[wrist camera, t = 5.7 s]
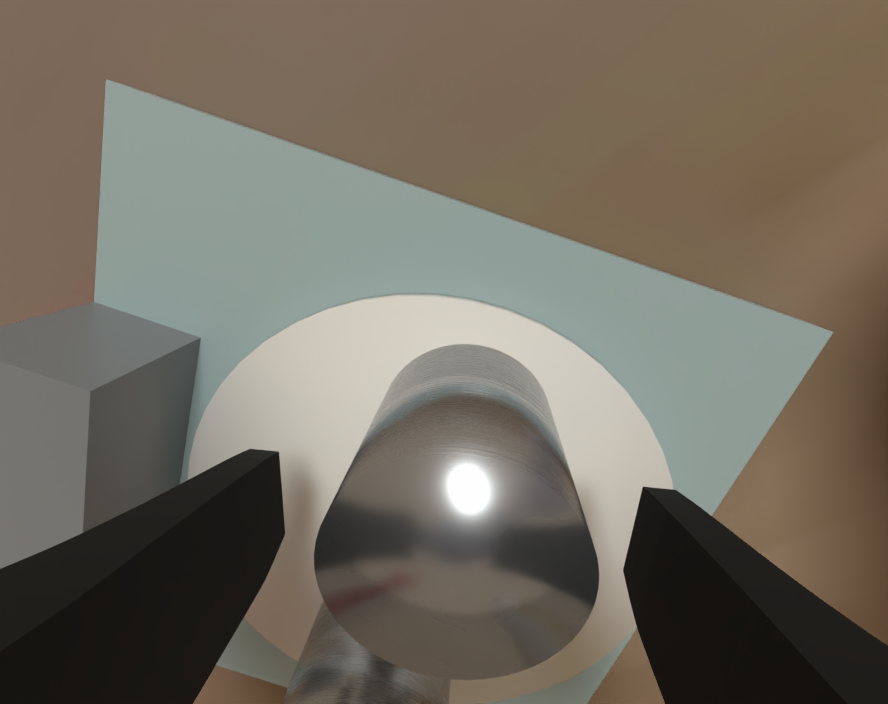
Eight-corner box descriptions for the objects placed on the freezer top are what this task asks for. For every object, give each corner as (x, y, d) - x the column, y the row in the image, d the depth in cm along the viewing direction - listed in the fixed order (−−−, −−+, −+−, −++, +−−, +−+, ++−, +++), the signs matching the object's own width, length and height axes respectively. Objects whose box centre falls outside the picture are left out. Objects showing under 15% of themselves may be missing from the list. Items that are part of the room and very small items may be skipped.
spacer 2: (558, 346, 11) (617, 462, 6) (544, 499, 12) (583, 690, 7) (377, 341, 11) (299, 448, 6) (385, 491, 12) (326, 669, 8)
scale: (790, 315, 12) (997, 394, 7) (538, 721, 18) (558, 915, 13) (139, 89, 12) (-110, 10, 7) (101, 581, 18) (-46, 728, 13)
